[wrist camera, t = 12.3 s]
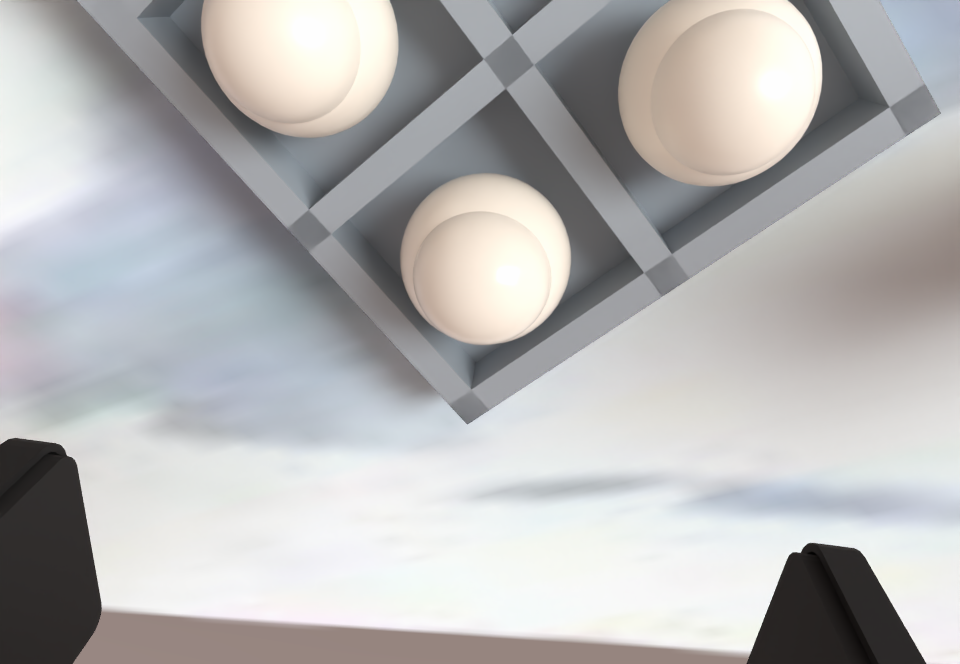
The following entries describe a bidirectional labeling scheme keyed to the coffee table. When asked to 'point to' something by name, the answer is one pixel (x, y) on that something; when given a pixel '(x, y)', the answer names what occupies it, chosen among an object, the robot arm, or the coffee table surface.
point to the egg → (485, 258)
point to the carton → (530, 134)
